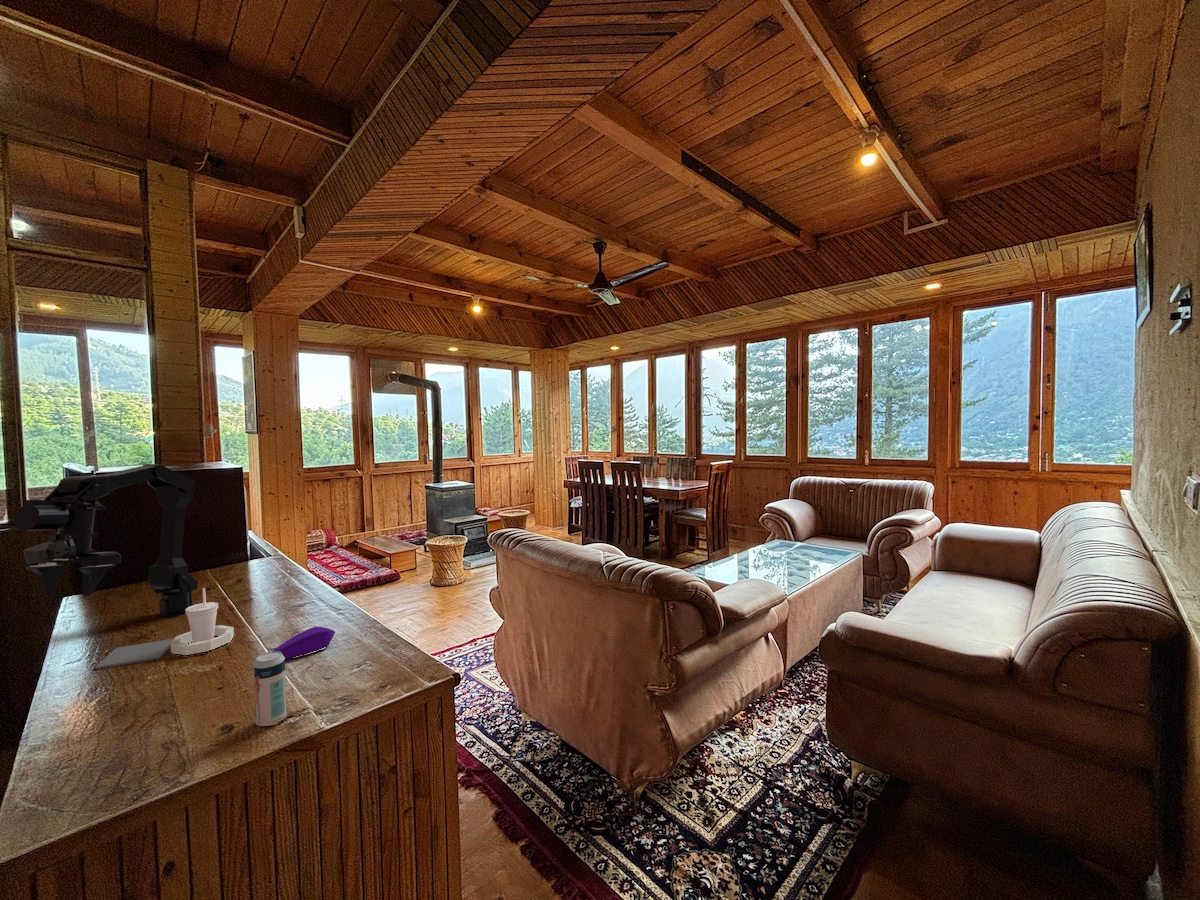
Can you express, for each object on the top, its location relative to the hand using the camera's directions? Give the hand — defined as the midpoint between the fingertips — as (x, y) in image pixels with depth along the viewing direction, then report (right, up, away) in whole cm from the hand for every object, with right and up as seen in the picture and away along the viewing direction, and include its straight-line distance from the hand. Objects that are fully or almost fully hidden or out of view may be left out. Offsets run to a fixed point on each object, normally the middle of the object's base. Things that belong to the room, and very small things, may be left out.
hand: (67, 596), depth 116 cm
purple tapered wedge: (+55, -14, +1) cm, 56 cm away
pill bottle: (+65, -15, -26) cm, 72 cm away
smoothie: (+27, -14, +6) cm, 31 cm away
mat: (+15, -14, +1) cm, 21 cm away
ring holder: (+27, -14, +6) cm, 31 cm away
